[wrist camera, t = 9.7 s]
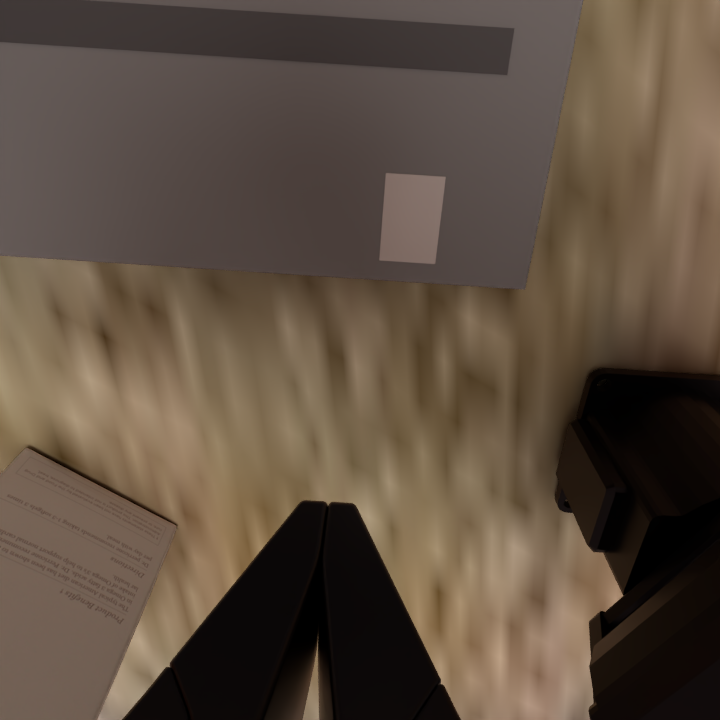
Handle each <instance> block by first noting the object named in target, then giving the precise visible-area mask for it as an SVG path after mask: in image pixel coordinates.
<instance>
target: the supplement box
mask: <svg viewBox="0 0 720 720" xmlns="http://www.w3.org/2000/svg"><path fill="white" fill-rule="evenodd" d="M176 528H177V526H176V525H174V524H172V523H170V522H168V521H166V520H164V519H162V518H160V517H158V516H157V515H155V514H153V513H151V512H149V511H147V510H145V509H143V508H141V507H139V506H137V505H135V504H133V503H132V502H130V501H128V500H126V499H124V498H122V497H120V496H118V495H116V494H114V493H112V492H111V491H109V490H107V489H105V488H103V487H101V486H99V485H97V484H95V483H93V482H91V481H89V480H87V479H86V478H84V477H82V476H80V475H78V474H76V473H74V472H72V471H71V470H69V469H67V468H65V467H63V466H61V465H59V464H57V463H55V462H54V461H52V460H50V459H48V458H46V457H44V456H42V455H40V454H38V453H36V452H35V451H33V450H31V449H29V448H25V449H24V450H23V451H22V452H21V453H20V454H19V455H18V456H17V457H16V458H15V459H14V460H13V461H12V462H11V463H10V464H9V466H8V467H7V468H6V469H5V470H4V471H3V472H2V473H1V474H0V720H97V719H98V716H99V714H100V712H101V709H102V707H103V705H104V702H105V700H106V698H107V695H108V693H109V691H110V689H111V686H112V684H113V682H114V679H115V677H116V675H117V673H118V670H119V668H120V665H121V663H122V660H123V658H124V656H125V653H126V651H127V649H128V646H129V644H130V642H131V639H132V637H133V635H134V632H135V630H136V627H137V625H138V623H139V620H140V618H141V615H142V613H143V611H144V608H145V606H146V604H147V601H148V599H149V596H150V594H151V592H152V589H153V587H154V584H155V582H156V579H157V576H158V574H159V571H160V569H161V566H162V564H163V561H164V559H165V557H166V554H167V552H168V549H169V547H170V545H171V542H172V540H173V537H174V534H175V531H176Z"/></svg>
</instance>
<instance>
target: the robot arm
mask: <svg viewBox="0 0 720 720" xmlns="http://www.w3.org/2000/svg"><path fill="white" fill-rule="evenodd" d="M604 379H607V382H606V384H604V385H603V386H597V384H598V383H599V382H600V381H601V380H604ZM556 476H557V478H558V480H559V483H558V487H557V491H556V494H555V501H556V503H557V505H558V507H559V509H560V510H562V511H563V512H568V513H573V514H574V516H575V518H576V521H577V523H578V525H579V527H580V530H581V532H582V534H583V536H584V539H585V541H586V543H587V545H588V546H589V547H590V549H591V550H592V551H593V552H603V553H604V555H605V557H606V560H607V562H608V564H609V566H610V568H611V570H612V572H613V574H614V577H615V579H616V581H617V583H618V585H619V587H620V589H621V591H622V594H623V597H622V598H621V599H619V600H618V601H617V602H616V603H615V604H614V605H613V606H611V607H610V608H609V609H608V610H607V611H606V612H603V611H601V612H599V613H598V614H597V615H596V616H595V617H594V618H592V619H591V620H590V621H589V630H590V647H591V661H590V666H589V667H590V673H591V680H592V686H593V699H594V704H593V705H591V706H590V708H589V717H590V720H720V376H717V375H702V374H687V373H671V372H656V371H640V370H625V369H609V368H601V369H597V370H594V371H593V372H592V373H591V374H590V375H589V376H588V378H587V381H586V385H585V388H584V392H583V395H582V399H581V403H580V406H579V410H578V414H577V417H576V419H574V420H573V421H572V422H571V423H570V424H569V427H568V431H567V434H566V438H565V442H564V446H563V449H562V453H561V457H560V460H559V464H558V468H557V472H556ZM566 499H567V500H568V501H565V500H566ZM318 634H319V635H318ZM317 643H318V686H319V720H461V719H460V717H459V715H458V713H457V711H456V709H455V707H454V705H453V703H452V701H451V699H450V697H449V695H448V693H447V691H446V689H445V687H444V685H442V684H441V679H440V677H439V675H438V673H437V671H436V669H435V667H434V665H433V663H432V661H431V659H430V657H429V654H428V652H427V650H426V648H425V646H424V644H423V642H422V640H421V638H420V636H419V634H418V632H417V630H416V628H415V626H414V624H413V622H412V620H411V618H410V616H409V614H408V611H407V609H406V607H405V605H404V603H403V601H402V599H401V597H400V595H399V593H398V591H397V589H396V587H395V585H394V583H393V581H392V579H391V577H390V575H389V573H388V570H387V568H386V566H385V564H384V562H383V560H382V558H381V556H380V554H379V552H378V550H377V548H376V546H375V544H374V542H373V540H372V538H371V536H370V534H369V532H368V529H367V527H366V525H365V523H364V521H363V519H362V517H361V515H360V513H359V511H358V509H357V507H356V506H355V505H354V504H353V503H341V502H331V503H330V504H329V505H327V503H326V502H324V501H310V500H304V501H301V502H300V503H299V504H298V505H297V507H296V508H295V509H294V510H293V512H292V513H291V514H290V515H289V517H288V518H287V519H286V520H285V521H284V523H283V524H282V525H281V526H280V528H279V529H278V530H277V531H276V533H275V534H274V535H273V536H272V538H271V539H270V540H269V541H268V542H267V544H266V545H265V546H264V547H263V549H262V550H261V551H260V552H259V554H258V555H257V556H256V557H255V558H254V560H253V561H252V562H251V563H250V565H249V566H248V567H247V568H246V570H245V571H244V572H243V573H242V575H241V576H240V577H239V578H238V579H237V581H236V582H235V583H234V584H233V586H232V587H231V588H230V589H229V591H228V592H227V593H226V594H225V595H224V597H223V598H222V599H221V600H220V602H219V603H218V604H217V605H216V607H215V608H214V609H213V610H212V611H211V613H210V614H209V615H208V616H207V618H206V619H205V620H204V621H203V623H202V624H201V625H200V626H199V628H198V629H197V630H196V631H195V632H194V634H193V635H192V636H191V637H190V639H189V640H188V641H187V642H186V644H185V645H184V646H183V647H182V648H181V650H180V651H179V652H178V653H177V655H176V656H175V657H174V658H173V660H172V661H171V662H170V667H166V668H165V669H164V670H163V671H162V673H161V674H160V675H159V676H158V678H157V679H156V680H155V681H154V683H153V684H152V685H151V686H150V688H149V689H148V690H147V691H146V693H145V694H144V695H143V696H142V697H141V698H140V700H139V701H138V702H137V703H136V704H135V705H134V707H133V708H132V709H131V710H130V711H129V712H128V714H127V715H126V716H125V717H124V718H123V719H122V720H302V719H303V714H304V710H305V705H306V700H307V695H308V691H309V686H310V681H311V676H312V672H313V667H314V662H315V656H316V651H317Z"/></svg>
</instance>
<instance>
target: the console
mask: <svg viewBox="0 0 720 720" xmlns="http://www.w3.org/2000/svg"><path fill="white" fill-rule="evenodd" d="M582 4H583V0H0V256H16V257H31V258H46V259H62V260H77V261H93V262H108V263H124V264H139V265H154V266H170V267H185V268H201V269H216V270H231V271H247V272H262V273H278V274H293V275H308V276H324V277H339V278H355V279H370V280H385V281H401V282H416V283H432V284H447V285H463V286H478V287H493V288H509V289H524V290H525V288H526V283H527V278H528V273H529V268H530V263H531V258H532V253H533V248H534V243H535V238H536V233H537V228H538V223H539V218H540V213H541V208H542V203H543V198H544V193H545V188H546V183H547V178H548V173H549V168H550V163H551V158H552V153H553V148H554V143H555V138H556V133H557V128H558V123H559V118H560V113H561V108H562V103H563V98H564V93H565V88H566V83H567V78H568V73H569V68H570V63H571V58H572V53H573V48H574V43H575V38H576V34H577V29H578V24H579V19H580V14H581V9H582Z"/></svg>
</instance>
